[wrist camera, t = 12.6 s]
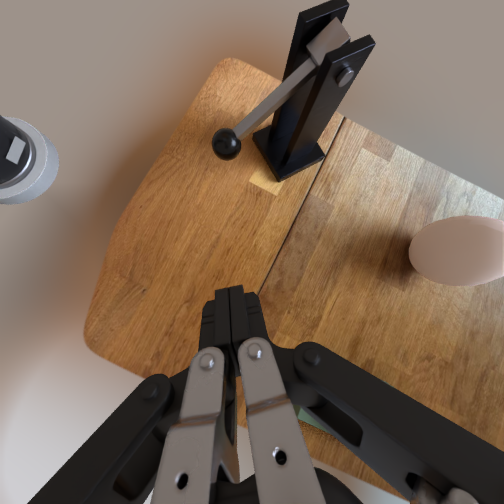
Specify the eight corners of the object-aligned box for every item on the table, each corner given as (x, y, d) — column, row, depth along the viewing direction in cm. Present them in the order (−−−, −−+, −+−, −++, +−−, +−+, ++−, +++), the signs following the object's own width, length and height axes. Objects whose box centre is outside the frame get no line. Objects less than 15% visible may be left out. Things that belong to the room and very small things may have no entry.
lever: (229, 169, 25) (215, 162, 22) (216, 147, 25) (200, 137, 22) (351, 65, 19) (354, 38, 16) (333, 38, 20) (333, 6, 17)
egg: (408, 294, 31) (509, 302, 20) (381, 241, 32) (464, 219, 20) (455, 271, 32) (575, 266, 21) (428, 220, 33) (530, 188, 22)
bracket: (278, 183, 32) (323, 87, 16) (251, 138, 32) (269, 4, 17) (322, 160, 33) (403, 50, 17) (295, 117, 33) (351, -26, 18)
